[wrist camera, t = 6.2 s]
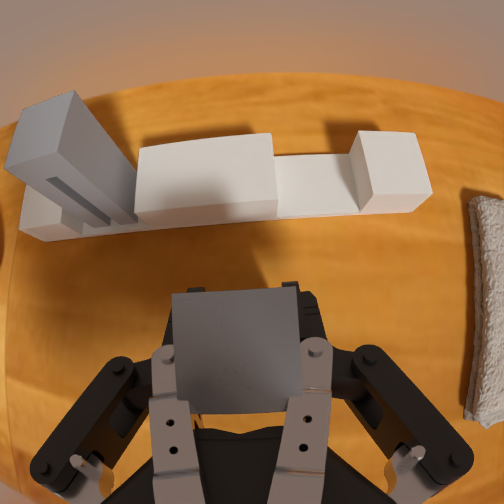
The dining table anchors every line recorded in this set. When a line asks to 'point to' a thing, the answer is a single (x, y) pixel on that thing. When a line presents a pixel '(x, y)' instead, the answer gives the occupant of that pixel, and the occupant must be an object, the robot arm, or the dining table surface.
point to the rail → (196, 178)
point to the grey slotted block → (237, 350)
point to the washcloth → (487, 312)
